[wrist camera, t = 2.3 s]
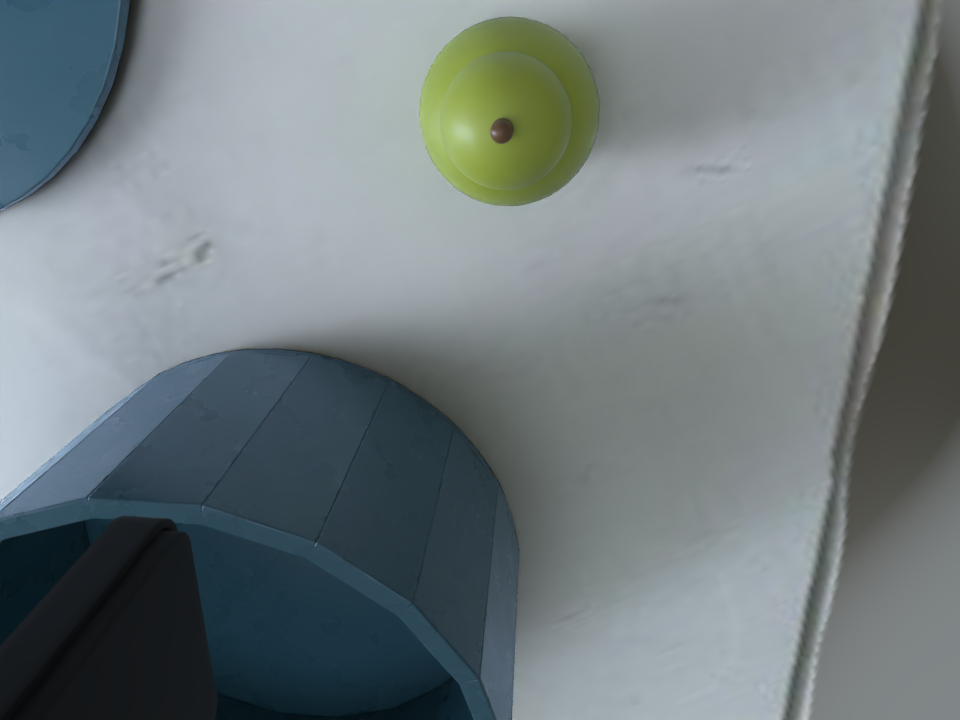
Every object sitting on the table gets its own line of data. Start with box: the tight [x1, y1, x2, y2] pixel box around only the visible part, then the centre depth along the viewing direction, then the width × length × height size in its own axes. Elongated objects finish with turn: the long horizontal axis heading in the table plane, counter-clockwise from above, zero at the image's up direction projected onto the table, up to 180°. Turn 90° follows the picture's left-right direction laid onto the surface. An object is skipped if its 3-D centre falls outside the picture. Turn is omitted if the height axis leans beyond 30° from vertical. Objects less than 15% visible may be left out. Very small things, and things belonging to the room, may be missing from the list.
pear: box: [420, 17, 599, 206], centre depth 19 cm, size 5×5×7 cm
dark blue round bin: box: [0, 349, 519, 720], centre depth 25 cm, size 18×18×10 cm
